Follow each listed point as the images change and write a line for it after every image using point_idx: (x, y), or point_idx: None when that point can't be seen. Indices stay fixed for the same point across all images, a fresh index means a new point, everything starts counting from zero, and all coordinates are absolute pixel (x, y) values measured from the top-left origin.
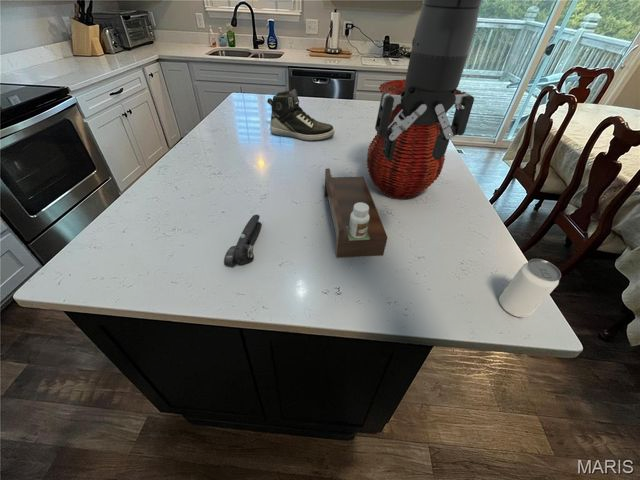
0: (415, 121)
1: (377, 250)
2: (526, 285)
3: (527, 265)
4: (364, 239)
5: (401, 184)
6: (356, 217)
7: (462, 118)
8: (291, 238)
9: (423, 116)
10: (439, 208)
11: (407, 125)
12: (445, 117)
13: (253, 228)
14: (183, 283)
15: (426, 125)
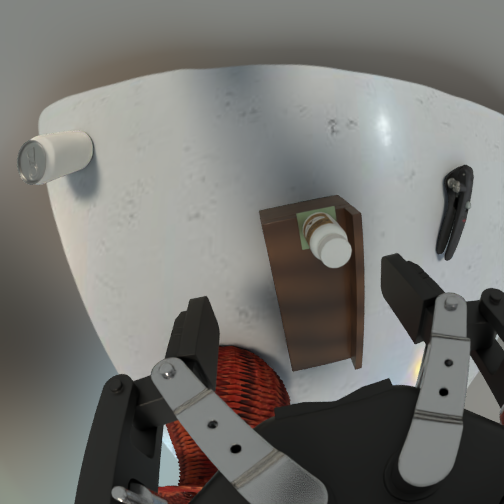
0: (397, 394)
1: (272, 211)
2: (56, 140)
3: (46, 166)
4: (306, 211)
5: (230, 360)
6: (339, 233)
7: (114, 442)
8: (401, 229)
9: (365, 432)
10: (162, 332)
11: (441, 351)
12: (214, 450)
13: (455, 226)
14: (491, 144)
15: (204, 456)
